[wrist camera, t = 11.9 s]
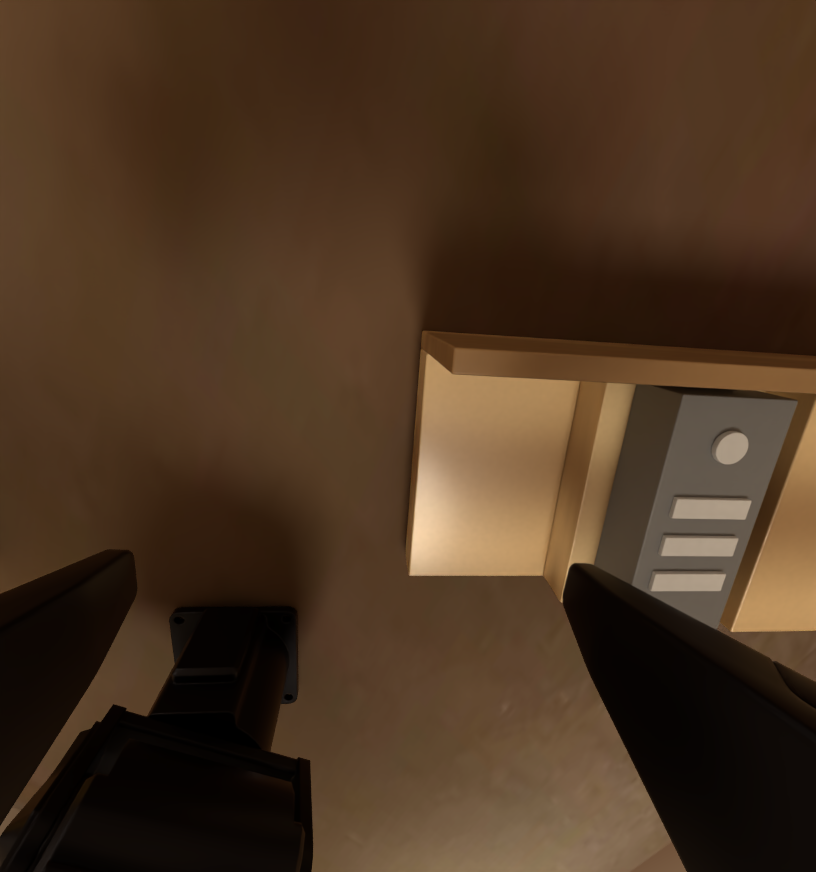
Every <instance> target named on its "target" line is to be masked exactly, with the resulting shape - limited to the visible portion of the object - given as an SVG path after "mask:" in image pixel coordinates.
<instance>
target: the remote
mask: <svg viewBox="0 0 816 872" xmlns="http://www.w3.org/2000/svg"><path fill="white" fill-rule="evenodd" d="M797 403H798V400H795V399H791V398H787V397H782V396H778V395H773V394H769V393H765V392H760V391H753V390H734V389H716V388H697V387H678V386H659V385H641V384H636V388H635V392H634V397H633V401H632V405H631V410H630V414H629V418H628V422H627V427H626V431H625V435H624V439H623V444H622V448H621V452H620V456H619V461H618V465H617V469H616V473H615V478H614V482H613V486H612V490H611V495H610V499H609V503H608V508H607V512H606V516H605V520H604V525H603V529H602V533H601V537H600V542H599V546H598V550H597V554H596V559H595V563H594V565H595V566H597V567H598V568H600V569H602V570H604V571H606V572H608V573H610V574H612V575H614V576H615V577H617V578H619V579H621V580H623V581H625V582H627V583H629V584H631V585H632V586H634V587H636V588H638V589H640V590H642V591H644V592H646V593H648V594H650V595H651V596H653V597H655V598H657V599H659V600H661V601H663V602H665V603H667V604H668V605H670V606H672V607H674V608H676V609H678V610H680V611H682V612H684V613H685V614H687V615H689V616H691V617H693V618H695V619H697V620H699V621H701V622H703V623H704V624H706V625H708V626H710V627H712V628H714V629H716V630H717V628H718V625H719V622H720V619H721V617H722V614H723V611H724V608H725V605H726V603H727V600H728V597H729V594H730V591H731V588H732V586H733V583H734V580H735V577H736V574H737V572H738V569H739V566H740V563H741V560H742V558H743V555H744V552H745V549H746V546H747V544H748V541H749V538H750V535H751V532H752V530H753V527H754V524H755V521H756V518H757V516H758V513H759V510H760V507H761V504H762V502H763V499H764V496H765V493H766V490H767V488H768V485H769V482H770V479H771V476H772V474H773V471H774V468H775V465H776V462H777V459H778V457H779V454H780V451H781V448H782V445H783V443H784V440H785V437H786V434H787V431H788V429H789V426H790V423H791V420H792V417H793V415H794V412H795V409H796V406H797Z"/></svg>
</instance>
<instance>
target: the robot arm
mask: <svg viewBox="0 0 816 872" xmlns="http://www.w3.org/2000/svg"><path fill="white" fill-rule="evenodd" d="M136 593H137V579H136V570H135V561H134V555H133V553H132V552H131V551H129V550H113V549H109V550H105V551H102V552H100V553H98V554H95V555H93V556H90V557H88V558H86V559H83V560H81V561H78V562H76V563H74V564H71V565H69V566H66V567H64V568H62V569H59V570H57V571H54V572H52V573H50V574H47V575H45V576H42V577H40V578H38V579H35V580H33V581H30V582H28V583H26V584H23V585H21V586H18V587H16V588H14V589H11V590H9V591H6V592H4V593H2V594H0V825H1V824H2V822H3V821H4V819H5V817H6V816H7V814H8V813H9V811H10V809H11V808H12V806H13V805H14V803H15V802H16V800H17V799H18V797H19V795H20V794H21V792H22V791H23V789H24V788H25V786H26V784H27V783H28V781H29V780H30V778H31V777H32V775H33V773H34V772H35V770H36V769H37V767H38V766H39V764H40V762H41V761H42V759H43V758H44V756H45V755H46V753H47V751H48V750H49V748H50V747H51V745H52V744H53V742H54V740H55V739H56V737H57V736H58V734H59V733H60V731H61V729H62V728H63V726H64V725H65V723H66V722H67V720H68V718H69V717H70V715H71V714H72V712H73V711H74V709H75V707H76V706H77V704H78V703H79V701H80V700H81V698H82V696H83V695H84V693H85V692H86V690H87V689H88V687H89V685H90V684H91V682H92V680H93V679H94V677H95V675H96V674H97V672H98V670H99V668H100V666H101V664H102V663H103V661H104V659H105V657H106V655H107V653H108V651H109V649H110V647H111V645H112V643H113V641H114V639H115V637H116V635H117V633H118V631H119V629H120V627H121V625H122V623H123V621H124V619H125V617H126V615H127V613H128V611H129V609H130V607H131V605H132V603H133V601H134V599H135V596H136ZM562 600H563V606H564V609H565V611H566V614H567V617H568V619H569V622H570V625H571V627H572V630H573V633H574V635H575V638H576V640H577V643H578V646H579V648H580V651H581V654H582V656H583V659H584V662H585V664H586V666H587V669H588V671H589V674H590V676H591V678H592V680H593V682H594V684H595V686H596V688H597V691H598V693H599V695H600V697H601V699H602V701H603V703H604V705H605V707H606V709H607V711H608V713H609V715H610V717H611V719H612V721H613V723H614V725H615V727H616V729H617V731H618V733H619V735H620V737H621V739H622V741H623V743H624V745H625V747H626V749H627V751H628V753H629V755H630V758H631V760H632V762H633V764H634V766H635V768H636V770H637V772H638V774H639V776H640V778H641V780H642V782H643V784H644V786H645V788H646V790H647V792H648V794H649V796H650V798H651V800H652V802H653V804H654V806H655V808H656V810H657V812H658V814H659V816H660V818H661V820H662V823H663V825H664V827H665V829H666V831H667V833H668V835H669V837H670V839H671V841H672V843H673V845H674V847H675V849H676V851H677V853H678V855H679V857H680V859H681V861H682V863H683V865H684V867H685V869H686V871H687V872H816V682H815V681H813V680H811V679H809V678H807V677H805V676H803V675H801V674H799V673H797V672H795V671H794V670H792V669H790V668H788V667H786V666H784V665H782V664H780V663H778V662H776V661H773V662H772V660H771V659H770V658H769V657H767V656H765V655H763V654H761V653H759V652H757V651H756V650H754V649H752V648H750V647H748V646H746V645H744V644H742V643H740V642H738V641H737V640H735V639H733V638H731V637H729V636H727V635H725V634H723V633H721V632H720V631H718V630H716V629H714V628H712V627H710V626H708V625H706V624H704V623H703V622H701V621H699V620H697V619H695V618H693V617H691V616H689V615H687V614H685V613H684V612H682V611H680V610H678V609H676V608H674V607H672V606H670V605H668V604H667V603H665V602H663V601H661V600H659V599H657V598H655V597H653V596H651V595H650V594H648V593H646V592H644V591H642V590H640V589H638V588H636V587H634V586H632V585H631V584H629V583H627V582H625V581H623V580H621V579H619V578H617V577H615V576H614V575H612V574H610V573H608V572H606V571H604V570H602V569H600V568H598V567H597V566H595V565H593V564H589V563H573V564H572V565H571V566H570V567H569V570H568V574H567V578H566V582H565V586H564V590H563V596H562ZM286 615H287V616H290V618H286V617H284V616H286ZM179 617H182V618H184V619H180V618H179ZM169 622H170V630H171V638H172V645H173V653H174V661H175V665H174V667H173V669H172V670H171V672H170V674H169V676H168V678H167V680H166V682H165V684H164V686H163V687H162V689H161V691H160V693H159V695H158V697H157V699H156V701H155V702H154V704H153V706H152V708H151V710H150V712H149V714H148V716H147V717H146V716H142V715H139V714H135V713H132V712H128V711H126V709H127V708H125V707H121V706H118V705H114V704H113V706H112V707H111V708H110V710H109V711H108V713H107V714H106V716H105V717H104V719H103V720H102V721H101V722H98V721H96V722H95V724H94V725H93V727H92V728H91V729H89V730H85V731H82V732H80V733H79V735H78V736H77V738H76V739H75V741H74V742H73V744H72V745H71V747H70V748H69V750H68V751H67V753H66V754H65V756H64V757H63V759H62V760H61V762H60V763H59V765H58V766H57V768H56V769H55V770H54V772H53V773H52V774H51V776H50V777H49V778H48V780H47V781H46V782H45V783H44V784H43V785H42V787H41V788H40V789H39V790H38V791H37V792H36V794H35V795H34V796H33V797H32V798H31V799H30V801H29V802H28V803H27V804H26V805H25V806H24V808H23V809H22V810H21V811H20V812H19V813H18V814H17V816H16V817H15V818H14V819H13V820H12V821H11V823H10V824H9V825H8V826H7V827H6V829H5V830H4V832H3V833H2V835H1V836H0V872H311V870H312V860H313V829H312V802H311V775H310V760H307V759H303V758H300V757H298V758H297V759H294V758H290V757H287V756H283V755H280V754H276V753H273V752H270V751H271V746H272V742H273V737H274V732H275V728H276V723H277V718H278V714H279V709H280V704H290V703H293V702H295V701H296V699H297V695H298V637H297V611H296V610H295V609H294V608H292V607H181V608H177V609H175V610H174V612H173V613H172V615H171V616H170V619H169Z"/></svg>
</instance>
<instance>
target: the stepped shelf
mask: <svg viewBox="0 0 816 872" xmlns="http://www.w3.org/2000/svg"><path fill="white" fill-rule="evenodd" d="M421 348H422V349H421V353H420V366H419V379H418V392H417V405H416V419H415V432H414V445H413V458H412V472H411V485H410V498H409V511H408V524H407V538H406V551H405V554H406V561H407V567H408V574H409V576H542V575H543V576H544V578H545V579H546V581H547V582H548V584H549V585H550V587H551V588H552V590H553V592H554V593H555V595H556V596H557V598H558V599H559V601H560V602H563V600H562V596H563V590H564V586H565V582H566V578H567V574H568V570H569V567H570V566H571V565H572V564H573V563H589V564H593V565H594V563H595V559H596V554H597V550H598V546H599V542H600V537H601V533H602V529H603V525H604V520H605V516H606V512H607V508H608V503H609V499H610V495H611V490H612V486H613V482H614V478H615V473H616V469H617V465H618V461H619V456H620V452H621V448H622V444H623V439H624V435H625V431H626V427H627V422H628V418H629V414H630V410H631V405H632V401H633V397H634V392H635V388H636V384H641V385H659V386H678V387H697V388H716V389H734V390H753V391H760V392H765V393H769V394H773V395H778V396H782V397H787V398H791V399H795V400H798V403H797V406H796V409H795V412H794V415H793V417H792V420H791V423H790V426H789V429H788V431H787V434H786V437H785V440H784V443H783V445H782V448H781V451H780V454H779V457H778V459H777V462H776V465H775V468H774V471H773V474H772V476H771V479H770V482H769V485H768V488H767V490H766V493H765V496H764V499H763V502H762V504H761V507H760V510H759V513H758V516H757V518H756V521H755V524H754V527H753V530H752V532H751V535H750V538H749V541H748V544H747V546H746V549H745V552H744V555H743V558H742V560H741V563H740V566H739V569H738V572H737V574H736V577H735V580H734V583H733V586H732V588H731V591H730V594H729V597H728V600H727V603H726V605H725V608H724V611H723V614H722V617H721V619H720V623H722V624H723V625H724V626H725V627H726V628H727V629H728V630H729V631H731V632H759V631H816V356H810V355H795V354H779V353H764V352H748V351H733V350H717V349H702V348H686V347H671V346H655V345H640V344H624V343H609V342H593V341H578V340H562V339H547V338H531V337H516V336H500V335H485V334H469V333H454V332H438V331H422V339H421Z"/></svg>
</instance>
